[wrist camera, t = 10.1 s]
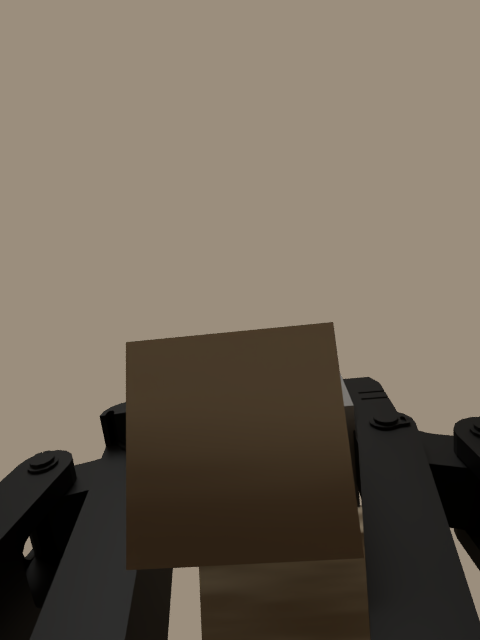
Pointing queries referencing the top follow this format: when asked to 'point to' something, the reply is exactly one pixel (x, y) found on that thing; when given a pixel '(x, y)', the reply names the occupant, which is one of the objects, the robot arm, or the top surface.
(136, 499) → the mallet
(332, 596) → the block
